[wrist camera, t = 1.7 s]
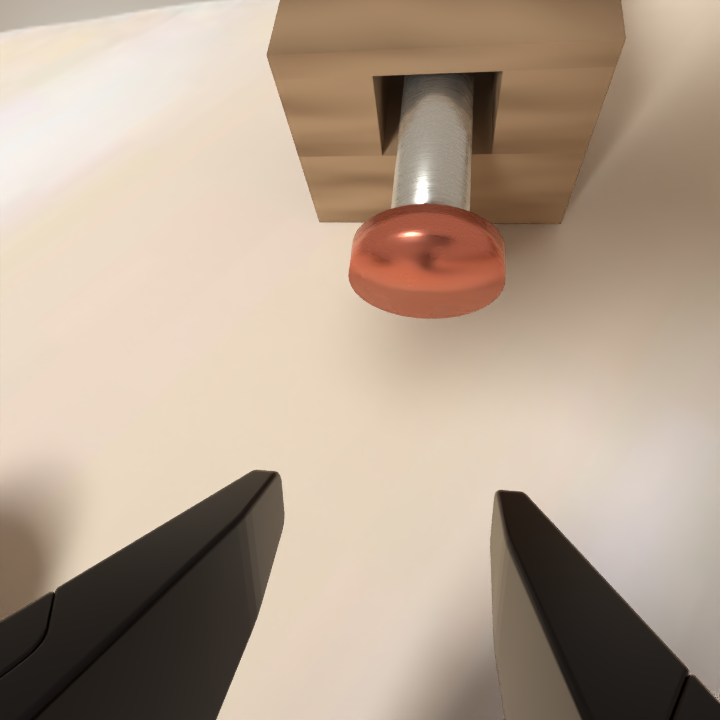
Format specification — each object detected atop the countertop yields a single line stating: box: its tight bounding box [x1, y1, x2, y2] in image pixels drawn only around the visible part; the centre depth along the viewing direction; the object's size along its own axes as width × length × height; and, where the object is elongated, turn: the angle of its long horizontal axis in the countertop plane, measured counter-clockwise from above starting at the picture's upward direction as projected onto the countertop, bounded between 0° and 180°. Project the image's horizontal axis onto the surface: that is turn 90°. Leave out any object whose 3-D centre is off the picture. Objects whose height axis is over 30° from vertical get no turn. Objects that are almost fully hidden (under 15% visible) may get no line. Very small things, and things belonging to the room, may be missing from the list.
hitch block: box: [267, 0, 626, 224], centre depth 24 cm, size 8×12×10 cm, turn 84°
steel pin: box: [349, 72, 505, 318], centre depth 21 cm, size 16×5×5 cm, turn 174°
